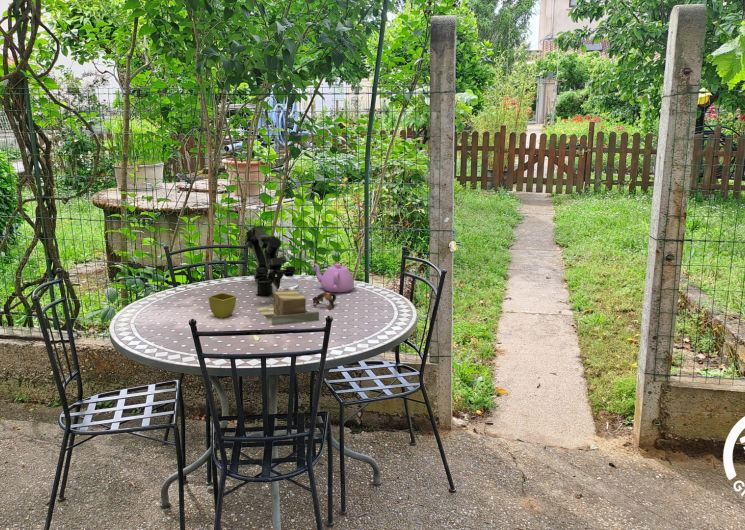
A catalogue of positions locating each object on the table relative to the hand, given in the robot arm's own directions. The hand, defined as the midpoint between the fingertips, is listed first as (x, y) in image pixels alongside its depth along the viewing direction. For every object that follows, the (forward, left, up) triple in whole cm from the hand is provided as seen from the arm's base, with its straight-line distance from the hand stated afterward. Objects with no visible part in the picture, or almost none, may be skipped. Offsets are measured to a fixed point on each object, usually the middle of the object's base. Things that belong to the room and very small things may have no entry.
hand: (278, 288), depth 302 cm
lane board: (+8, -8, -9) cm, 15 cm away
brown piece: (+19, +11, -10) cm, 24 cm away
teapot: (+10, +41, -10) cm, 43 cm away
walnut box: (+11, -11, -9) cm, 18 cm away
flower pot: (-16, -22, -10) cm, 29 cm away
